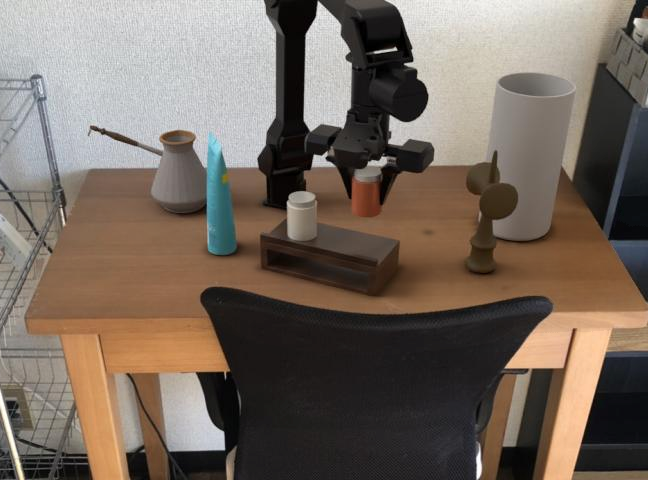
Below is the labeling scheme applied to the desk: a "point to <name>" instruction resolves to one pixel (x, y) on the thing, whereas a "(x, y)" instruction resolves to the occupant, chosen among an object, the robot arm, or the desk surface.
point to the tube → (219, 202)
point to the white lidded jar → (302, 216)
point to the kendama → (488, 211)
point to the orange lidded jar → (366, 192)
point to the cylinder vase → (530, 147)
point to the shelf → (332, 257)
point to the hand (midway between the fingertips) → (366, 201)
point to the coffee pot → (174, 171)
